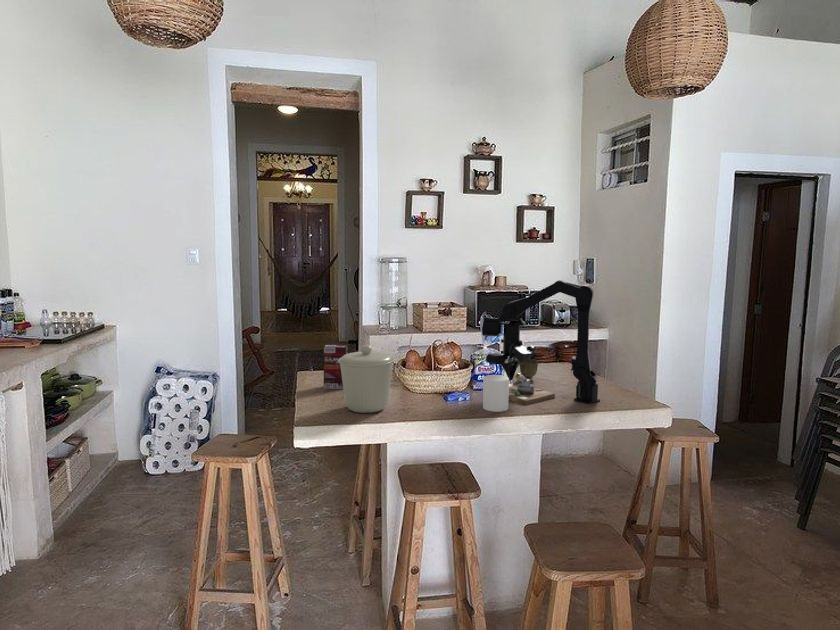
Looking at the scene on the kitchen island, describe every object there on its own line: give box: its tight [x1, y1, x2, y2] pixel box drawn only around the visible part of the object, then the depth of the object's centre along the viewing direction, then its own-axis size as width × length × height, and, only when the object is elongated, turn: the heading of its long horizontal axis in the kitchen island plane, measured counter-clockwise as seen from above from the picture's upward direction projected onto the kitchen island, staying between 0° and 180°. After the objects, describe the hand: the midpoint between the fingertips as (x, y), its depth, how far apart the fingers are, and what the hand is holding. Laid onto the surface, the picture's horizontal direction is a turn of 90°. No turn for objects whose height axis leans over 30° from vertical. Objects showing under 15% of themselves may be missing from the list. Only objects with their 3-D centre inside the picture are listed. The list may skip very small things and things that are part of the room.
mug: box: [482, 374, 510, 413], centre depth 182 cm, size 8×10×12 cm
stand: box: [508, 385, 556, 406], centre depth 195 cm, size 15×15×3 cm
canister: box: [338, 344, 395, 414], centre depth 178 cm, size 18×18×21 cm
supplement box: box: [322, 344, 348, 390], centre depth 205 cm, size 9×5×16 cm, turn 92°
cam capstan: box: [514, 372, 535, 394], centre depth 196 cm, size 11×6×5 cm, turn 12°
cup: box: [519, 358, 539, 382], centre depth 218 cm, size 8×7×8 cm
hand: (510, 380), depth 198 cm, fingers closed
